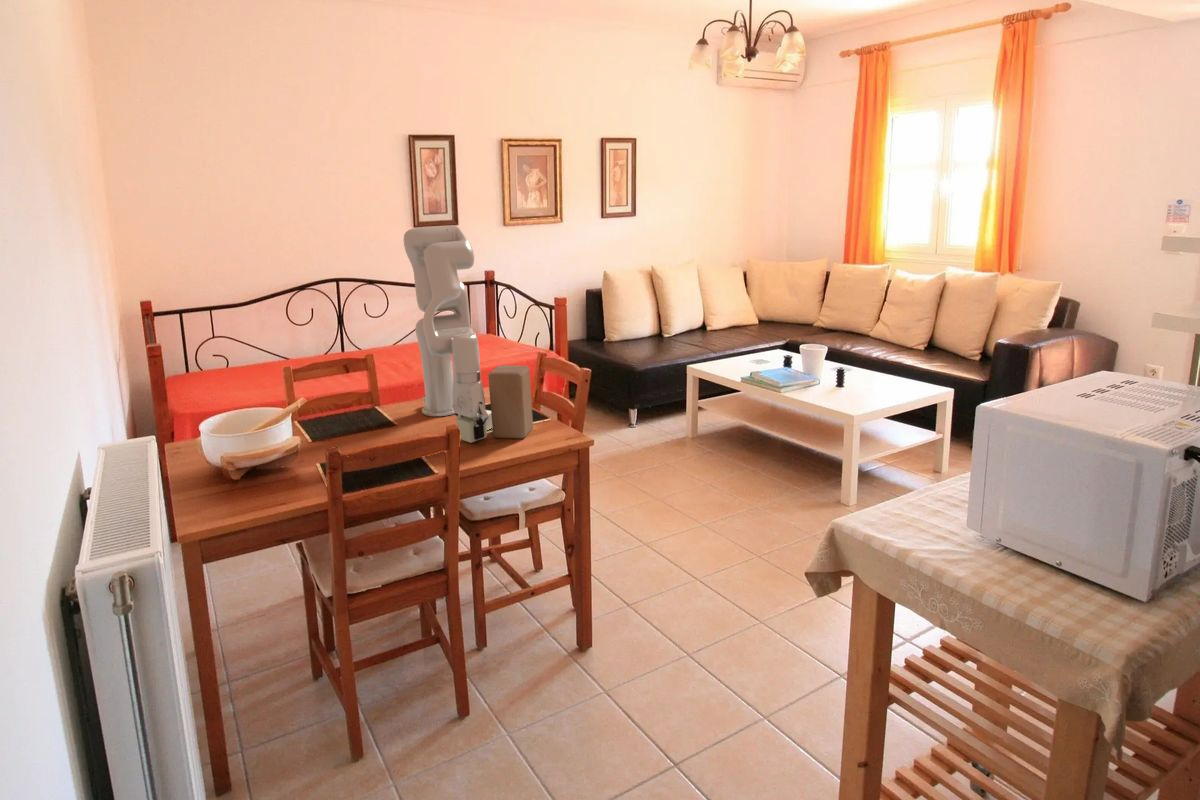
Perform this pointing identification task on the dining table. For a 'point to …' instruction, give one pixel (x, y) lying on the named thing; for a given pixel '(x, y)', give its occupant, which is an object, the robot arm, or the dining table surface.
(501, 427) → the block
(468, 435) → the sage cube
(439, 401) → the robot arm
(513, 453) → the dining table surface
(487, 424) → the cream cube
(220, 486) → the dining table surface
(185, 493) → the dining table surface
